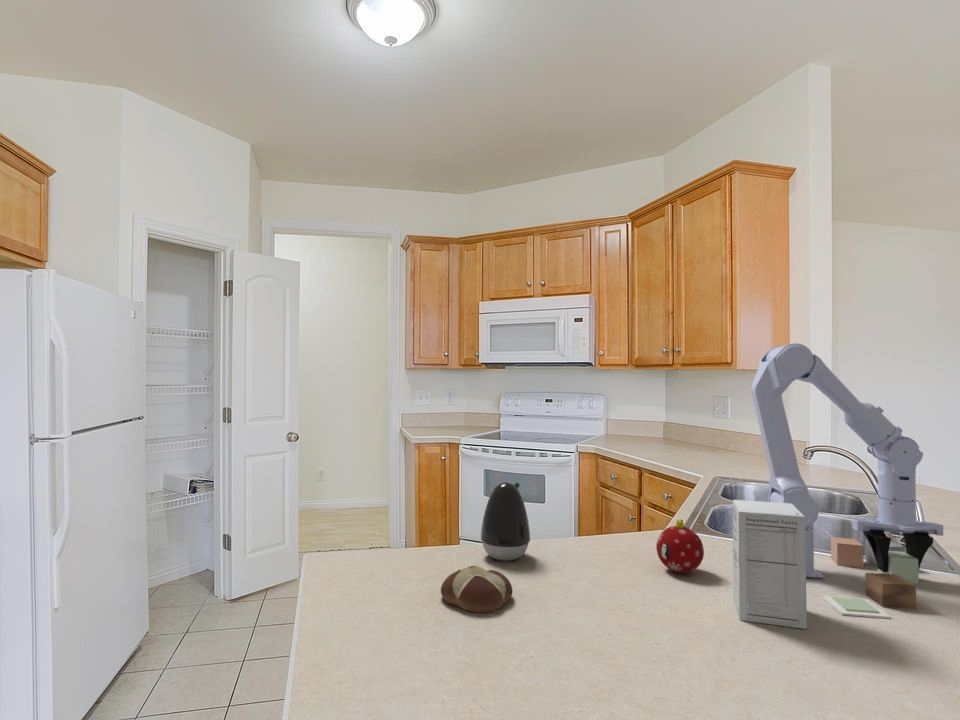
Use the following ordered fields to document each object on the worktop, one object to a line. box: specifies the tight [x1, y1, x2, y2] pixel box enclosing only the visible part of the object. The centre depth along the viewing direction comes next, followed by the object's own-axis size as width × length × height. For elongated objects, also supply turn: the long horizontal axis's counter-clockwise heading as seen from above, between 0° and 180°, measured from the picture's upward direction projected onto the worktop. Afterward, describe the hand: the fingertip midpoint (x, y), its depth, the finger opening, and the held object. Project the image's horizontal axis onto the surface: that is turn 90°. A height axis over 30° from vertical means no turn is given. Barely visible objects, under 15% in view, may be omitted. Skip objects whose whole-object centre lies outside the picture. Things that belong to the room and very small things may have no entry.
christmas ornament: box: [656, 518, 705, 574], centre depth 105 cm, size 9×9×10 cm
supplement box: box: [732, 499, 808, 630], centre depth 87 cm, size 10×9×17 cm
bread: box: [440, 565, 513, 614], centre depth 91 cm, size 11×11×5 cm
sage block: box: [877, 551, 920, 585], centre depth 102 cm, size 4×4×4 cm
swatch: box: [820, 595, 892, 620], centre depth 89 cm, size 7×7×1 cm
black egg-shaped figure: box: [480, 482, 531, 562], centre depth 112 cm, size 10×10×15 cm
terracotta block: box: [830, 536, 865, 569], centre depth 111 cm, size 4×4×4 cm
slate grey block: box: [864, 539, 905, 568], centre depth 110 cm, size 4×4×4 cm
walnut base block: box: [865, 572, 917, 610], centre depth 92 cm, size 5×5×4 cm
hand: (897, 571), depth 102 cm, fingers closed on sage block, 4 cm apart
